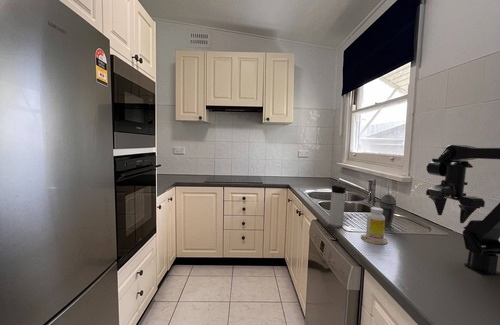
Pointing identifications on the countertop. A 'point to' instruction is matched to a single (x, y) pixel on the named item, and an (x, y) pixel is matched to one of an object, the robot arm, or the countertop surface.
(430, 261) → the countertop surface
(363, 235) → the coaster
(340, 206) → the travel mug
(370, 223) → the supplement bottle
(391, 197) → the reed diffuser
